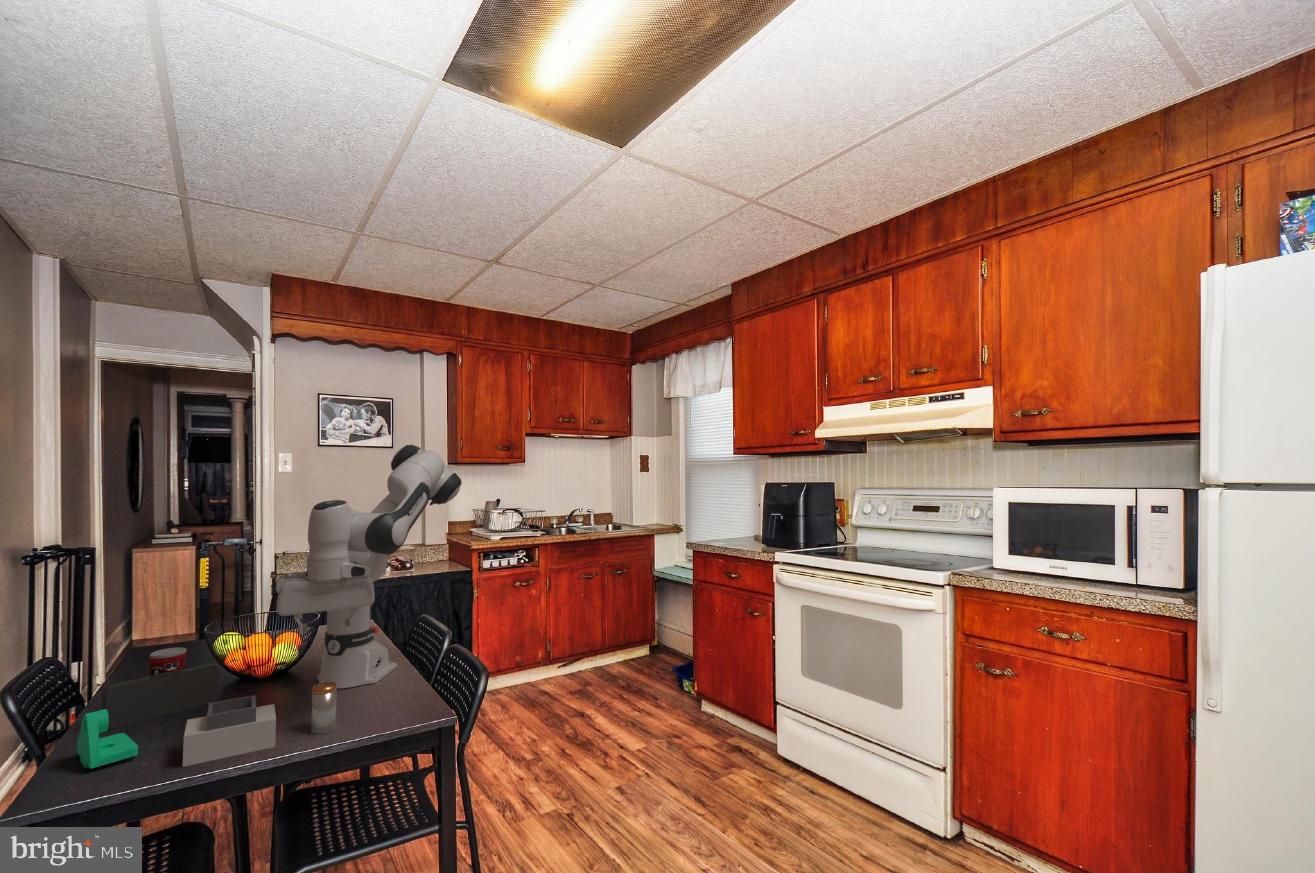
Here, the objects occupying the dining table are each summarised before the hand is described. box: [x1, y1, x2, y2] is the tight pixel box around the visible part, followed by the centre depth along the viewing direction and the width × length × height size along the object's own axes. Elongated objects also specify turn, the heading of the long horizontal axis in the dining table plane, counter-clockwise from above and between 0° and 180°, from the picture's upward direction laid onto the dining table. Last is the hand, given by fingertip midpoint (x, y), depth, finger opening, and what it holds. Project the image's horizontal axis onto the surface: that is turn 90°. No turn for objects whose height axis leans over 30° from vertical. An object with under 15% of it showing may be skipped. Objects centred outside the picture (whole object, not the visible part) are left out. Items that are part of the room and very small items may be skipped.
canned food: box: [148, 647, 187, 676], centre depth 166 cm, size 8×8×11 cm
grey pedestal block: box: [182, 694, 277, 768], centre depth 134 cm, size 16×10×9 cm, turn 124°
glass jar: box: [310, 682, 338, 735], centre depth 143 cm, size 5×5×10 cm
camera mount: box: [76, 709, 139, 770], centre depth 129 cm, size 12×8×10 cm, turn 53°
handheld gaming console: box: [101, 663, 221, 730], centre depth 152 cm, size 23×3×10 cm, turn 143°
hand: (326, 629), depth 144 cm, fingers open, 8 cm apart
